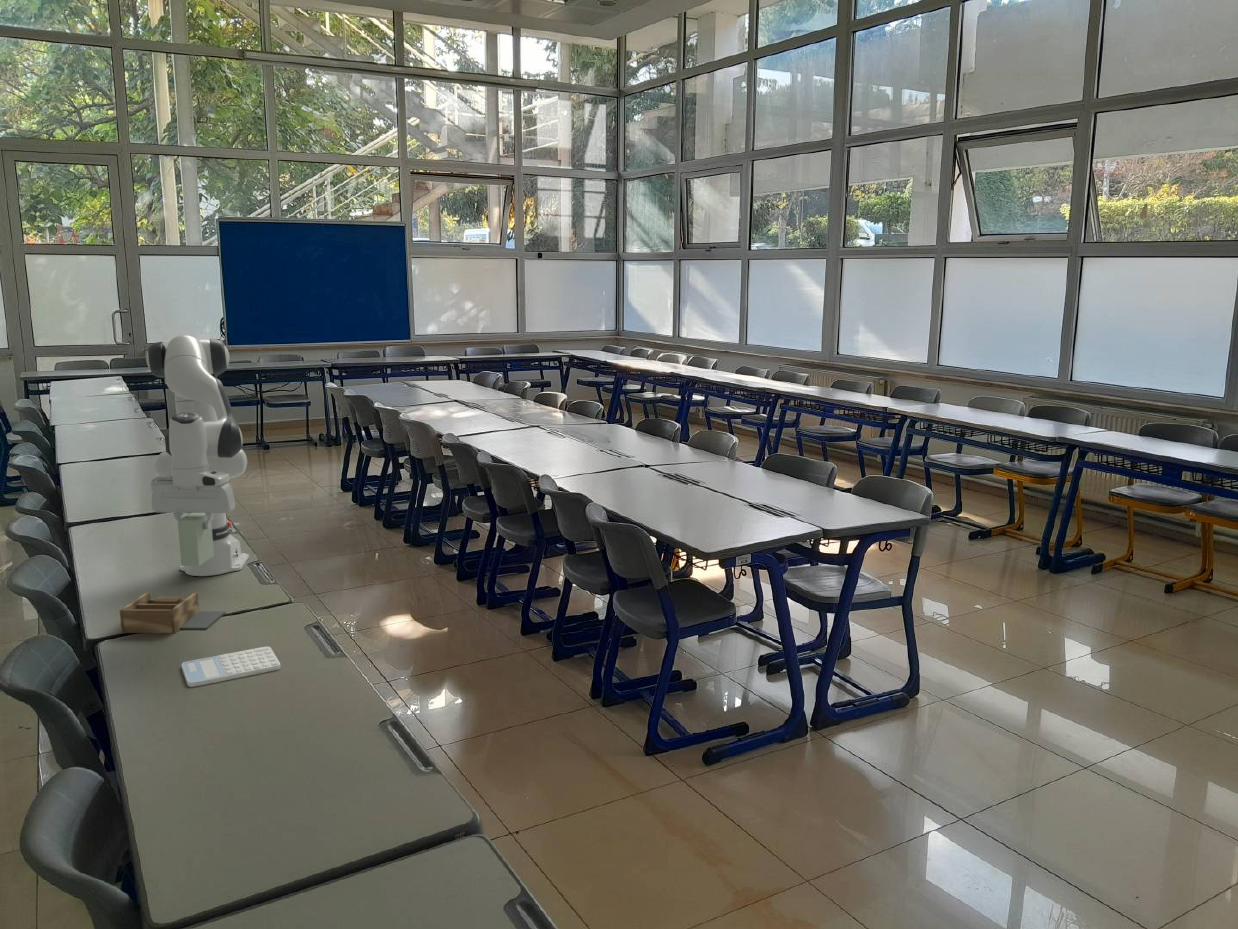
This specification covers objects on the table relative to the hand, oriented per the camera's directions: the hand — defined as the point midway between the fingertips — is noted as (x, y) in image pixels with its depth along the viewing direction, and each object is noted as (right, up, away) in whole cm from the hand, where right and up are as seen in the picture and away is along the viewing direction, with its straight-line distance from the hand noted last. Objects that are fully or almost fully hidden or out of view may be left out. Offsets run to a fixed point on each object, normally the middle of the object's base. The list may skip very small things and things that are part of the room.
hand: (195, 528), depth 237 cm
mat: (0, -25, +5) cm, 25 cm away
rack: (-10, -25, +3) cm, 27 cm away
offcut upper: (-10, -22, +7) cm, 25 cm away
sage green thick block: (0, -9, +2) cm, 9 cm away
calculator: (+19, -32, -24) cm, 44 cm away
